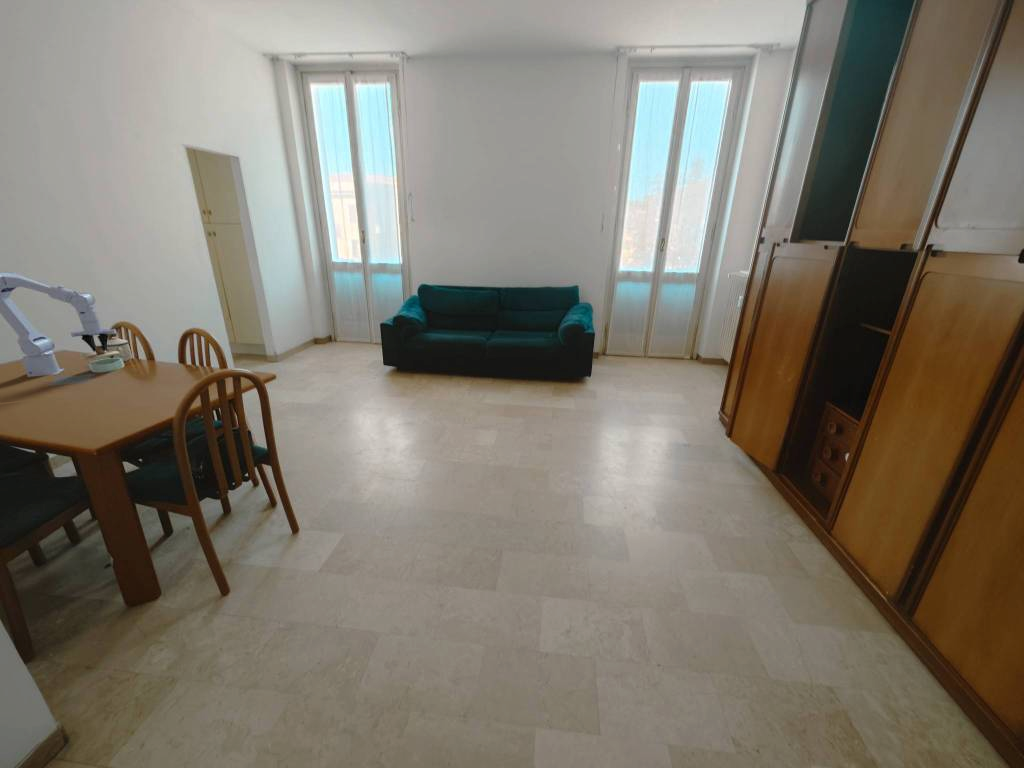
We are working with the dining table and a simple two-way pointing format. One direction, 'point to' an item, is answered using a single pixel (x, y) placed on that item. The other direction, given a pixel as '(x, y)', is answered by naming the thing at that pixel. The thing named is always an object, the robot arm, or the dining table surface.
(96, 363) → the bowl
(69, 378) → the mat
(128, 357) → the teacup with lid
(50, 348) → the robot arm
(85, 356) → the lid
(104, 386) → the dining table surface
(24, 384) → the dining table surface
